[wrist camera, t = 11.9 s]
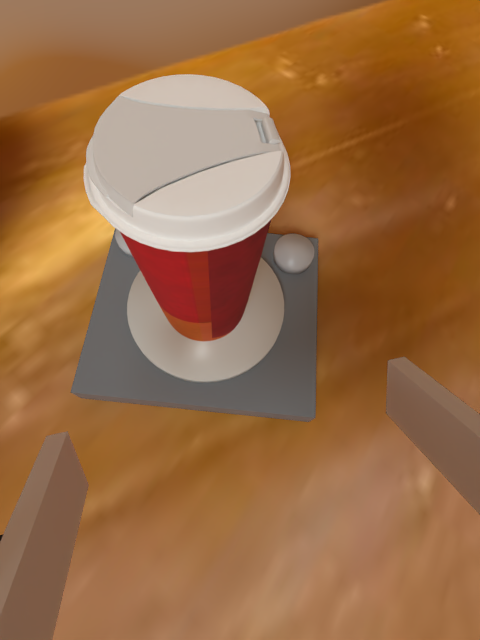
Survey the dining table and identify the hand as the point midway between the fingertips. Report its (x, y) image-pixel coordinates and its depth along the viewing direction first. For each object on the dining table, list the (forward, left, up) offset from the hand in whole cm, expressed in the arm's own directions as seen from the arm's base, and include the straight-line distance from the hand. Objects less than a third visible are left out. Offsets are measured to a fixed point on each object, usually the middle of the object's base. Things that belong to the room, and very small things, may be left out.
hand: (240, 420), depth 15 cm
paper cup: (+3, -9, -8) cm, 12 cm away
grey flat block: (+3, -9, -11) cm, 14 cm away
